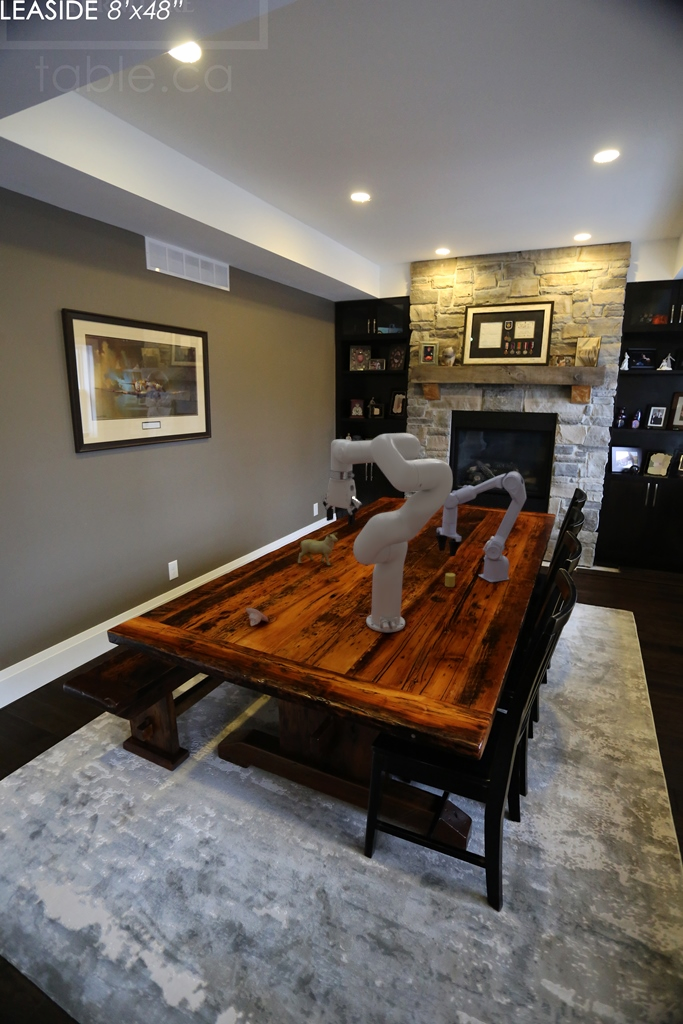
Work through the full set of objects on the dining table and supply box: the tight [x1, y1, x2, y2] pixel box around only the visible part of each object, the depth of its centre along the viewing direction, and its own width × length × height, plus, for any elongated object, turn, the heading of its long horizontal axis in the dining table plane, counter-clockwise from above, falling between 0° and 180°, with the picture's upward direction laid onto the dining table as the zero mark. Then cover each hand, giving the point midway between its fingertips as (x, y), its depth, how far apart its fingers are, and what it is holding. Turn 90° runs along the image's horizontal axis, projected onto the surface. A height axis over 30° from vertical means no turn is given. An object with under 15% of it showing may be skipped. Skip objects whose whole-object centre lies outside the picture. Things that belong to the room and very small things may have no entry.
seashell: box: [245, 607, 269, 627], centre depth 160 cm, size 8×5×8 cm
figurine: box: [482, 535, 495, 561], centre depth 223 cm, size 8×8×12 cm
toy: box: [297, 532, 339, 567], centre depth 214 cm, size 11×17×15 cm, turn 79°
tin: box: [444, 572, 456, 588], centre depth 195 cm, size 4×4×4 cm
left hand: (340, 522), depth 178 cm, fingers open, 9 cm apart
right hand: (447, 553), depth 210 cm, fingers open, 7 cm apart
